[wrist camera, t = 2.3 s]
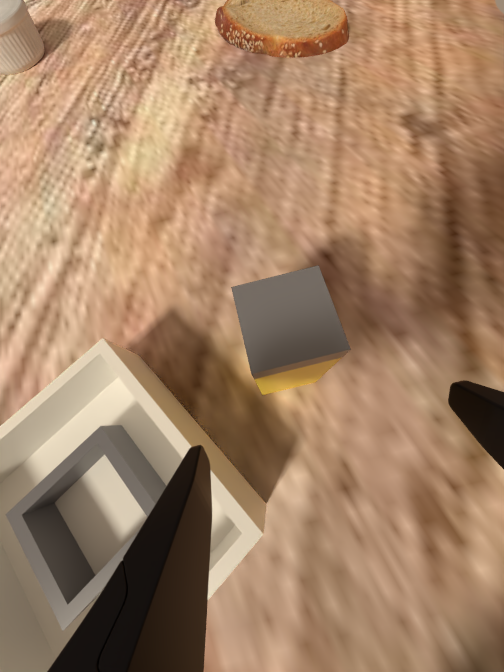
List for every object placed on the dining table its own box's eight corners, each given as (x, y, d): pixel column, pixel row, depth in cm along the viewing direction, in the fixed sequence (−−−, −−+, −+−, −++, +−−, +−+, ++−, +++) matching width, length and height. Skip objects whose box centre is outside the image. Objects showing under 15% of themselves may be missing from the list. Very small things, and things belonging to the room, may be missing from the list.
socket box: (266, 504, 18) (263, 534, 13) (85, 713, 15) (-1, 847, 10) (139, 355, 22) (102, 337, 18) (-18, 496, 20) (-110, 520, 15)
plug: (315, 382, 20) (350, 349, 11) (262, 395, 20) (251, 374, 11) (299, 332, 22) (318, 265, 12) (250, 344, 22) (231, 287, 12)
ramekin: (-20, 86, 40) (-62, 38, 35) (-5, 48, 44) (-41, 0, 39) (46, 72, 39) (13, 22, 34) (55, 35, 43) (27, -15, 38)
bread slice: (355, 49, 35) (364, 8, 31) (230, 79, 35) (225, 40, 32) (319, -9, 41) (323, -50, 37) (212, 16, 41) (206, -22, 38)
